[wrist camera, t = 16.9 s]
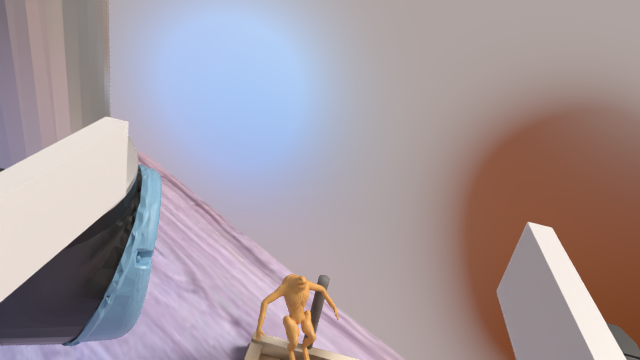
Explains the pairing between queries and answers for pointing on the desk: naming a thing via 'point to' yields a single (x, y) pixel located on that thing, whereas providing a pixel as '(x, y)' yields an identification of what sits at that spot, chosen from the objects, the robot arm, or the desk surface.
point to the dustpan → (272, 351)
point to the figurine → (295, 311)
